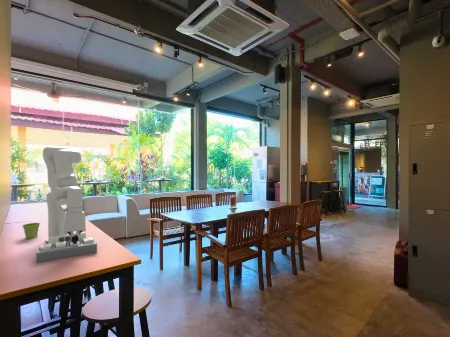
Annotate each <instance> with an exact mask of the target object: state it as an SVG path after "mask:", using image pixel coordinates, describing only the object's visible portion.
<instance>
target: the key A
mask: <svg viewBox="0 0 450 337" xmlns="http://www.w3.org/2000/svg"><path fill="white" fill-rule="evenodd" d="M40 246H41V247H40V251H41V250H47V249H52V243H50V244H48V243H45V244H40Z"/></svg>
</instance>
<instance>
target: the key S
mask: <svg viewBox="0 0 450 337" xmlns="http://www.w3.org/2000/svg"><path fill="white" fill-rule="evenodd" d="M60 247H66V241H64V242H57V243H56V248H60Z"/></svg>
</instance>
